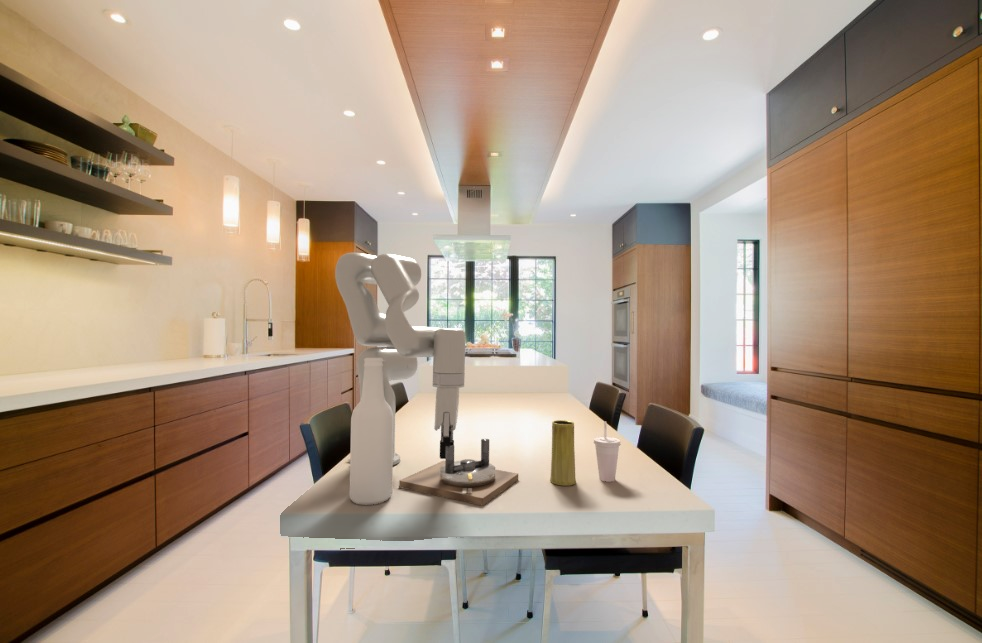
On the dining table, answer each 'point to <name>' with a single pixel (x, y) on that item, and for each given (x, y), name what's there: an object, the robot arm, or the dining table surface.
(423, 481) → the stand board
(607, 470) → the smoothie
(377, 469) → the alcohol
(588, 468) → the dining table surface
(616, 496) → the dining table surface
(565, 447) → the vase
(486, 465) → the dial
